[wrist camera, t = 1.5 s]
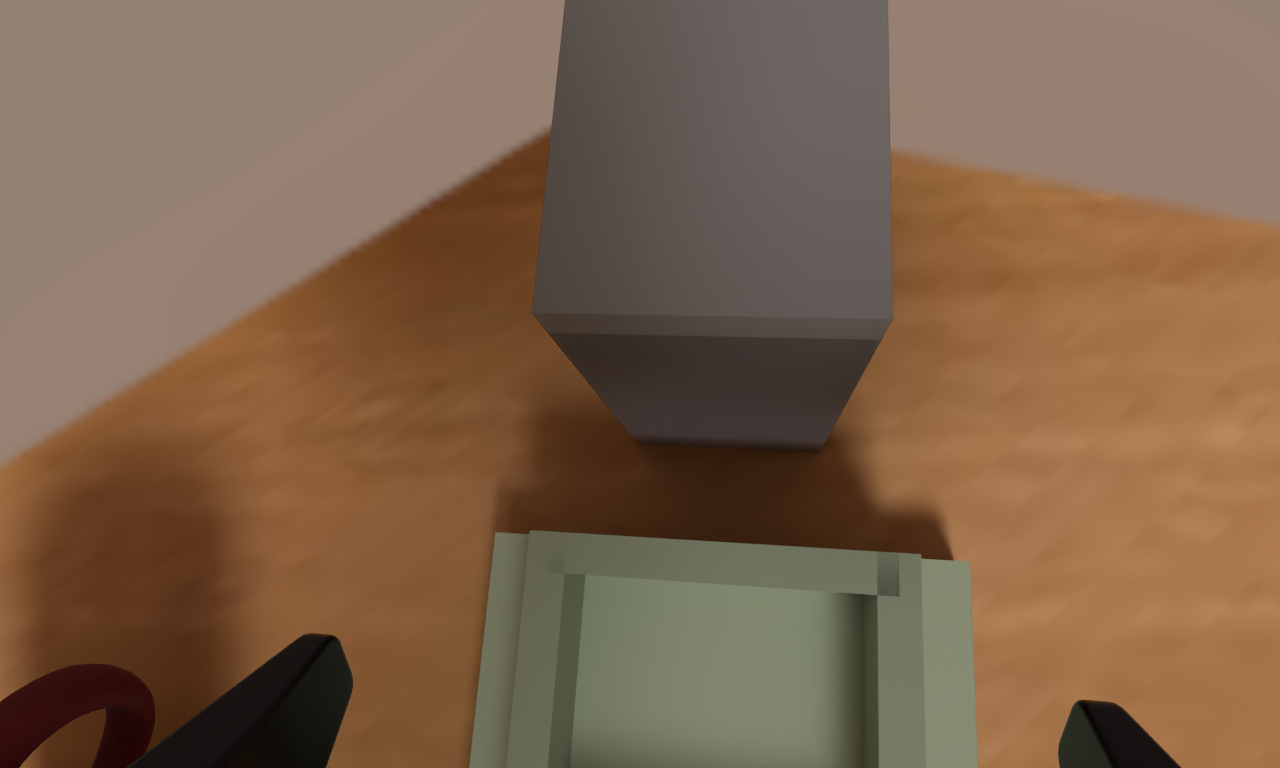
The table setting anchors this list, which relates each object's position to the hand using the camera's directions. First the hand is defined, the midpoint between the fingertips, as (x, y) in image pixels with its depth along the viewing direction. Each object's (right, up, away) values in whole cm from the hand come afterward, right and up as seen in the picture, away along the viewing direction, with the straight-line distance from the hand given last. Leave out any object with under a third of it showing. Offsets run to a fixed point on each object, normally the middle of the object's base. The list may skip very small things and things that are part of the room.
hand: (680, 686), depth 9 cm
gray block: (+2, +4, +14) cm, 15 cm away
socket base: (+2, -6, +12) cm, 13 cm away
